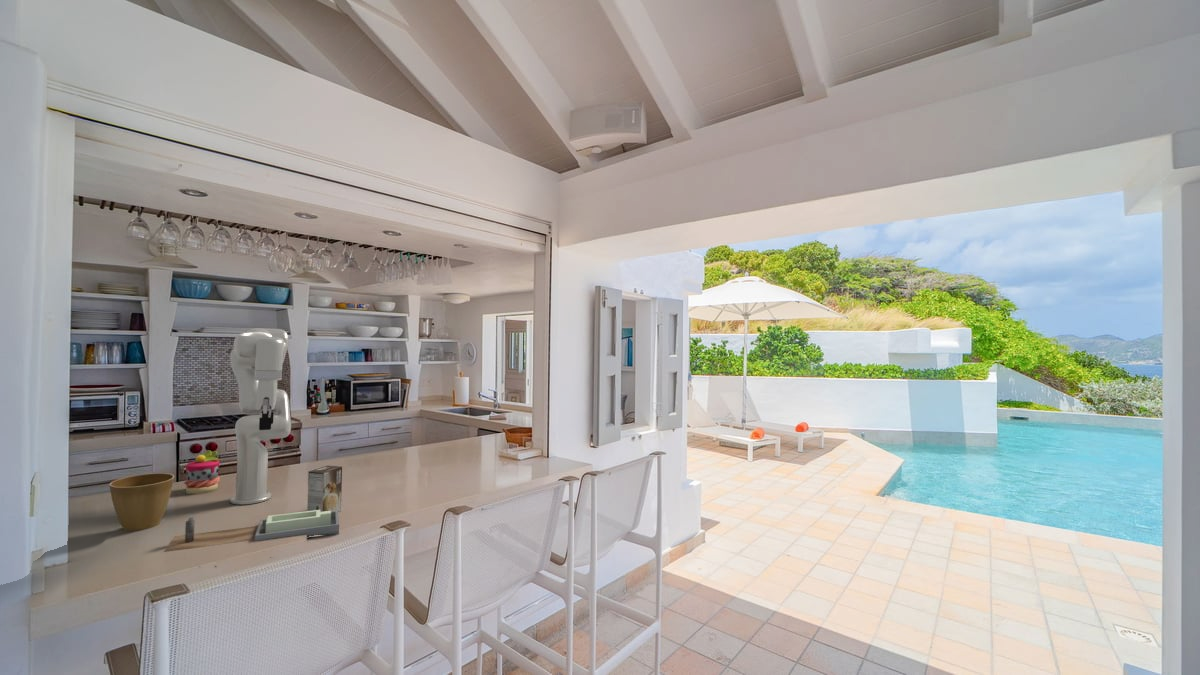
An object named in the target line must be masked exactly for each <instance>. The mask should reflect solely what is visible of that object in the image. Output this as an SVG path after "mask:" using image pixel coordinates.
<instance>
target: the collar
mask: <svg viewBox="0 0 1200 675" xmlns="http://www.w3.org/2000/svg"><path fill="white" fill-rule="evenodd" d="M266 519H267V522H266V525H265V533H272V532H279V531H287V530H294V529H302V528H310V527H317V526H325V525H331V511H324V512H320V510H313V511H306V510H305V511H298V512H289V513H281V514H271V515H267V518H266Z"/></svg>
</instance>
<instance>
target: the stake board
mask: <svg viewBox="0 0 1200 675" xmlns="http://www.w3.org/2000/svg"><path fill="white" fill-rule="evenodd" d="M256 528H257V526H248V527H247V526H246V527H240V528H239V527H238V528H231V529H230V528H229V529H222V530H216V531H214V530H213V531H209V532H208V531H206V532H201V533H200V532H198V533H195V520H194V516H191V517H189V518H188V519H187V520H186V521H185V527H184V529H185V531H184V533H185V534H184V535H183V534H182V535H176V536H174V537H173V538H172V539H171V542H169V544H168V545H167V547H166V548H165V549H164V551H163V553H167V552H174V551H181V550H182V551H183V550H189V549H197V548H204V547H212V546H219V545H220V546H221V545H226V544H232V543H233V544H234V543H240V542H247V541H252V539H253V537H254V533H255V531H256Z"/></svg>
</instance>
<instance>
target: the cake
mask: <svg viewBox="0 0 1200 675" xmlns="http://www.w3.org/2000/svg"><path fill="white" fill-rule="evenodd" d="M217 455H218V451H216V450H215V451H211V450H209V449H208V450H206V451H205V452H204V453H203V454H199V455H197V456H196V457H195V460H194V461H191V462H189V463H188V462H187V463H186V465H185V473H186V480H185V482H183V484H184V485H185V494H187V495H201V494H208V493H213V492H215V491H217V490H218V489H219V488H218V485H219V482H220V480H221V478H220V476H219V474H220V471H219V470H220V469H219V468H220V461H219V458H218V457H216V456H217Z"/></svg>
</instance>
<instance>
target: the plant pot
mask: <svg viewBox="0 0 1200 675" xmlns="http://www.w3.org/2000/svg"><path fill="white" fill-rule="evenodd" d="M174 481H175V475H174V474H173V473H164V472H163V473H162V472H157V473H155V472H153V473H144V474H137V475H136V474H135V475H130V476H125V477H121V478H118V479H116V480H114V481H111V482H110V483H109V492H110V495H111V496H110V497H111V500H112V504H113V508H114V512H115V514H116V517H117V520H118V522H119V524H120V526H121V528H122V530H123V531H127V532H134V531H135V532H136V531H143V530H149V529H150V528H151V529H152V528H154V527H157V526H158V525H160V523H161V521H162V519H163V516H164V514H165V511H166V509H167V506H168V504H169V499H170V497H171V494H172V491H173V490H172V489H173V485H174Z"/></svg>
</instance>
